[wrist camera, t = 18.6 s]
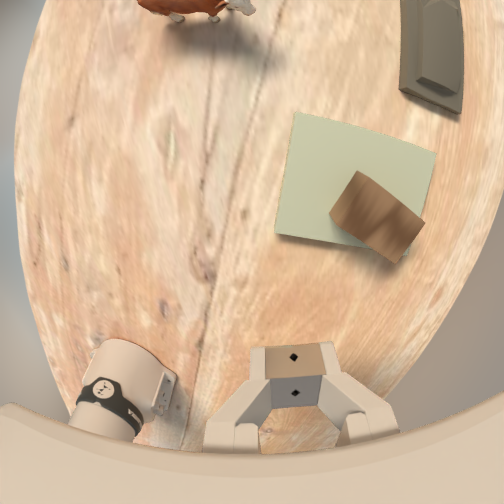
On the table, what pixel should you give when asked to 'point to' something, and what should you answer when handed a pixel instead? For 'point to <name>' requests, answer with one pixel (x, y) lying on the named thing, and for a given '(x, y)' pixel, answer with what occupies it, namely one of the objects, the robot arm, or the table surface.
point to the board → (344, 175)
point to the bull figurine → (195, 7)
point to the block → (376, 217)
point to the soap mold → (432, 52)
